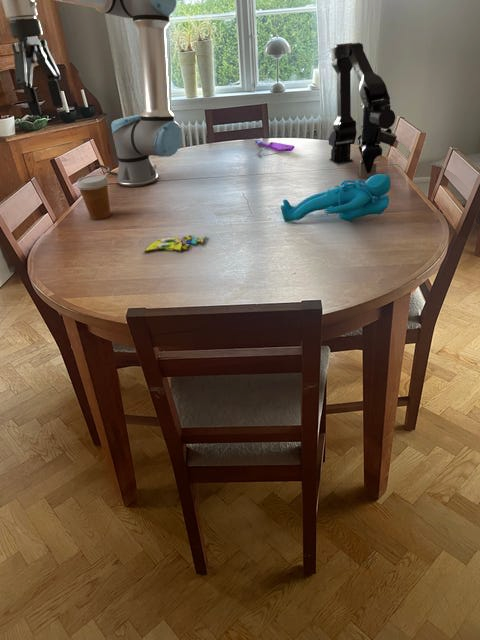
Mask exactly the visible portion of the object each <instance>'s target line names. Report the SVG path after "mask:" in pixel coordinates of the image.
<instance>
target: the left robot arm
mask: <svg viewBox="0 0 480 640" xmlns="http://www.w3.org/2000/svg"><path fill="white" fill-rule="evenodd" d="M54 1H55V2H61V3H67V4H73V5H78V6H83V7H89V8H94V9H95V10H96V11H97V12H98V13H102V14H107V15H112V16H116V17H120V18H125V19H132V23H133V24H134V25H135V27H136V28H137V29H138V41H139V55H140V67H141V68H140V70H141V83H142V96H143V111H141V113H140V114H136V115H130V116H125V117H121V118H118V119H115V120H113V121H112V122H111V124H110V125H111V135H112V140H113V142H114V147H115V151H116V156H117V160H118V167H117V168H118V170H117V172H113V171H110V167H108V166H106V165H104V164H96V165H94V167H93V170H95V169H97V168H102V169H105V170H106V173H107V174H110V175H113V176H117V183H118V186H120V187H123V188H124V187H125V188H136V187H137V188H138V187H145V186H147V185H148V186H149V185H151V184H154V183H156V182H157V181H158V180H159V176H158V172H157V169H158V168H157V167H158V166H157V164H155V165H154V163H153V161H152V159H151V157H152V156H154V157H160V158H163V157H172V156H174V155H175V154H176V153H177V152H178V150H179V149H180V147H181V145H182V141H183V132H182V128H181V126H180V125H179V123H178V122H176V120H175V115H174V113H173V112H172V111H171V110H170V96H169V95H170V93H169V76H168V73H169V72H168V58H167V57H168V55H167V38H166V37H167V36H166V29H167V28H168V27H169V25H170V24H171V23H170V21H171V20H170V16H171V15H172V14H174V13H175V9H176V8H177V0H54ZM1 3H2V8H3V11H4V15H5V18H6V19H8V23H7V25H8V29H9V32H10V35H11V37H12V38H13V39H17V41H18V42H12V43H11V48H12V52H13V61H14V77H15V85H16V87H17V88H18V89H23V93H24V96H25V100H26V103H27V106H28V110H29V113H30V116H31V117H32V116H42V115H43V113H42V109H41V106H40V103H39V99H38V95H37V91H36V88H35V86H33V76H34V64H36V63H37V65H38V66H39V68H40V69H41V71H42V72H43V74H44V75H45V77H46V78H47V81H46V83H47V86H48V90H49V94H50V98H51V102H52V104H53V107H64V106H65V105H64V101H63V97H62V92H61V89H60V85H59V81H58V80H61V73H60V71H59V69H58V66H57V63H56V62H55V60H54V58H53V56H52V53H51V51H50V49H49V46H48V43H47V40H46V39H45V38H43V39H42V38H41V39H40V38H39V37H41V36H43V34H44V33H43V28H42V25H41V22H40V19H39V18H37V16H38V10H37V2H36V1H35V0H1Z"/></svg>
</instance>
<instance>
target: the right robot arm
mask: <svg viewBox="0 0 480 640" xmlns="http://www.w3.org/2000/svg"><path fill="white" fill-rule="evenodd" d="M329 52H330V53H329V54H330V55H329V57H330V59H331V66H332V68H333V69H334V71H335V73H336V103H337V104H336V110H337V111H336V112H337V113H336V115H337V116H336V118H335V121H334V122H333V125H332V131H331V133H330V135H329V137H328V145H329V146H331V149H330V158H329V161H331V162H333V163H335V164H344V163H348V162H352V161H353V158H351V147H352V145H355V143H356V138H357V145H358V149H359V153H360V156H361V160H363V162H364V165H365V168H366V171H367V173H370V172H371V169H372V166H373V163H374V160H375V161H376V158H378V157H381V156H383V148H382V146H381V144H386V145H388V146H389V147H393V146H394V145H395V142H396V140H397V138H398V136H397V135H396V134H395V133H394V132H393V131H392V128H391V127H392V126H393V125H394V124H395V122H396V114H395V111H393V109H391V97H390V95H389V91H388V87H387V85H386V83H385V81H384V80H383V78H382V77H381V76H380V75H378V74H377V73H375V72H374V69H373V68H372V66H371V63H370V61H369V59H368V57H367V55H366V53H365V50H364V45H363V43H361V42H347V43H338V44H336V43H335V44H334V45H333V47H332V48H331V49H330V51H329ZM352 70H354V73H355V75H356V77H357V79H358V81H359V88H358V93H359V97H360V99H361V101H362V103H361V104H360V107H361V108H362V120H361V121H362V122H361V125H360V130H361V134H359V136H358V137H357V134H358V131H357V121H356V120H355V119H353V117H352V115H351V114H352V99H351V98H352V93H351V92H352V91H351V89H352V87H351V86H352V85H351V84H352V79H351V78H352V77H351V76H352V75H351V74H352V73H351V71H352Z"/></svg>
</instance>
